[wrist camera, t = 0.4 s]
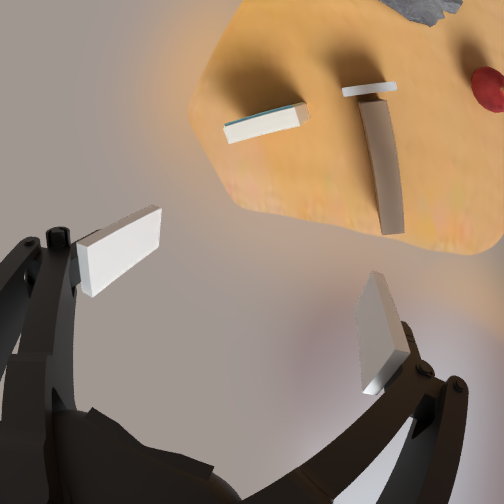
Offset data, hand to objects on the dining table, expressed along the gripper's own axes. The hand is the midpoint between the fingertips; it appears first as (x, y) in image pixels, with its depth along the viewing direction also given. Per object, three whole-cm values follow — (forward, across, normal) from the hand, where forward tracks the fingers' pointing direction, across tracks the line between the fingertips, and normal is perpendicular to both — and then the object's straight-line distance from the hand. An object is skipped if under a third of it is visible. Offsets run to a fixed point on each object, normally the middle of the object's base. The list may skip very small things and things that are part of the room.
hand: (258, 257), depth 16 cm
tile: (+23, -4, +9) cm, 25 cm away
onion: (+19, +21, +23) cm, 37 cm away
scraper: (+22, +10, +9) cm, 26 cm away
